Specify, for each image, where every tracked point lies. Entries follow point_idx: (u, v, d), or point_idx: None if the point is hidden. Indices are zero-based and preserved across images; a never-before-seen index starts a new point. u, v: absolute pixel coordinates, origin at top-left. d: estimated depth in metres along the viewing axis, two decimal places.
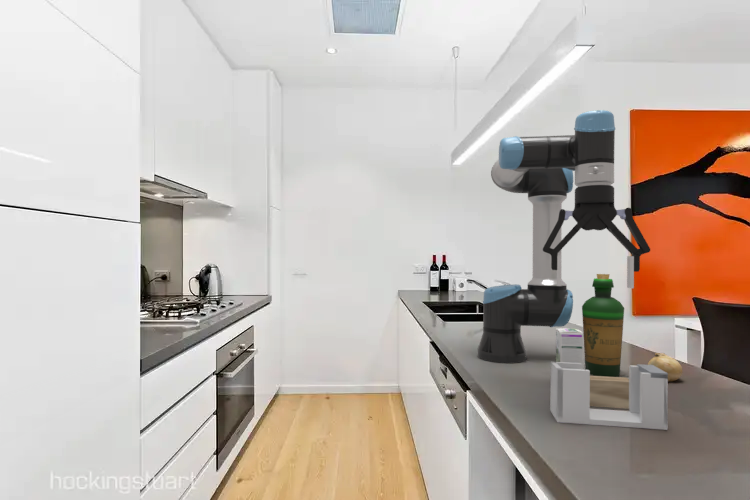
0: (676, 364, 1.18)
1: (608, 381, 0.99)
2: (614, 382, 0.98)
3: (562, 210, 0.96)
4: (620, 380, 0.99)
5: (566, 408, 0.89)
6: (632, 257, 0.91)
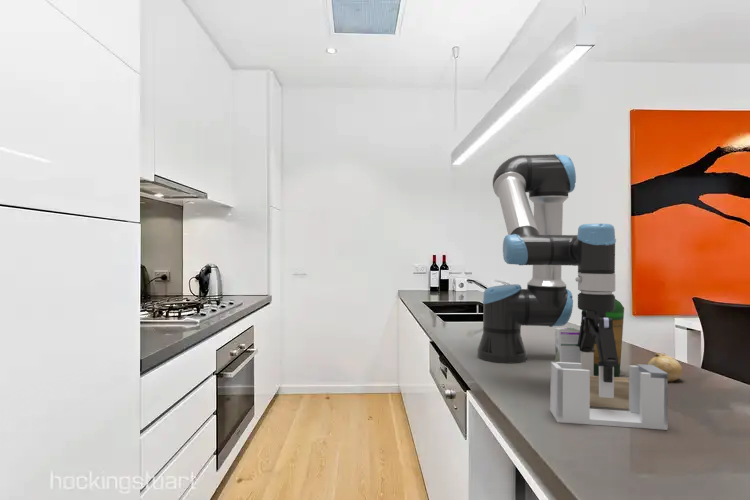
0: (676, 364, 1.18)
1: None
2: (614, 382, 0.98)
3: (582, 312, 1.07)
4: (620, 380, 0.99)
5: (566, 408, 0.89)
6: (599, 366, 0.94)
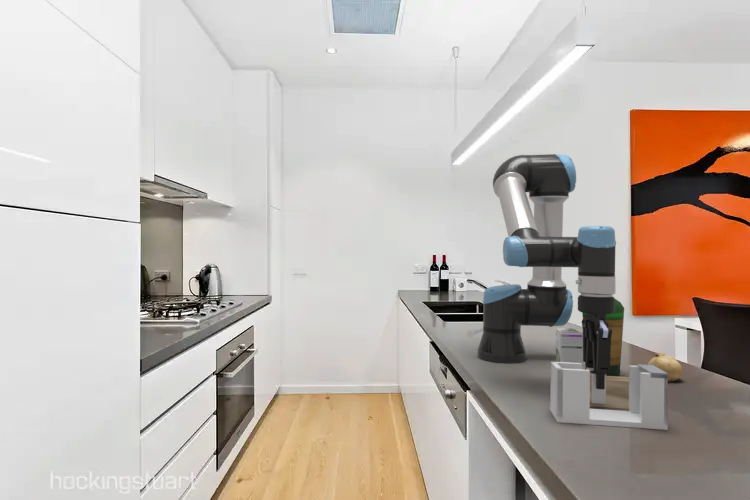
0: (676, 364, 1.18)
1: (608, 380, 0.98)
2: (614, 381, 0.98)
3: (582, 321, 1.07)
4: (620, 379, 0.99)
5: (566, 408, 0.89)
6: (592, 374, 0.99)
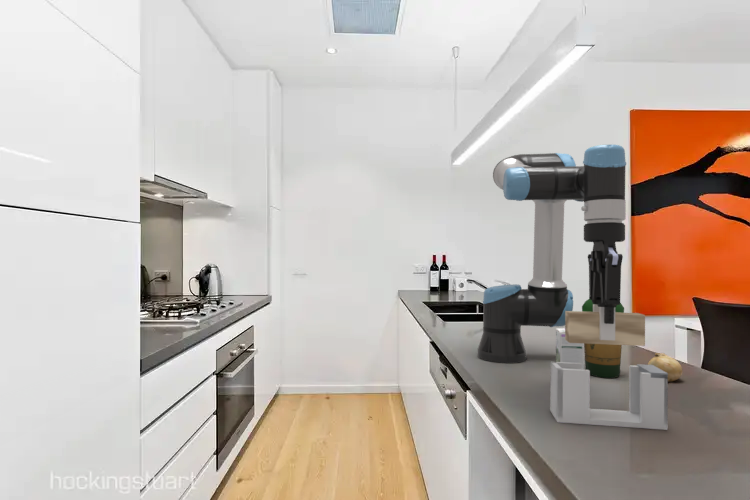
0: (676, 364, 1.18)
1: (618, 315, 0.89)
2: (625, 316, 0.89)
3: (588, 255, 0.97)
4: (631, 314, 0.89)
5: (566, 408, 0.89)
6: (600, 308, 0.89)
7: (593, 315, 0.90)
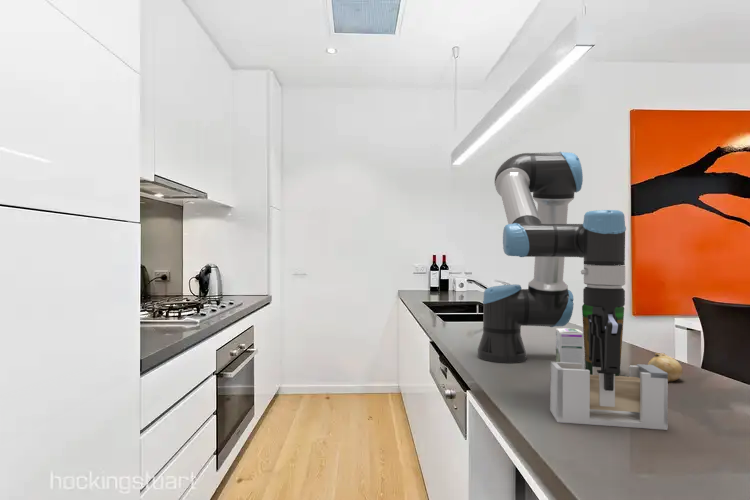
0: (676, 364, 1.18)
1: (618, 381, 0.89)
2: (624, 382, 0.89)
3: None
4: (631, 380, 0.89)
5: (566, 408, 0.89)
6: (599, 373, 0.89)
7: (593, 380, 0.90)
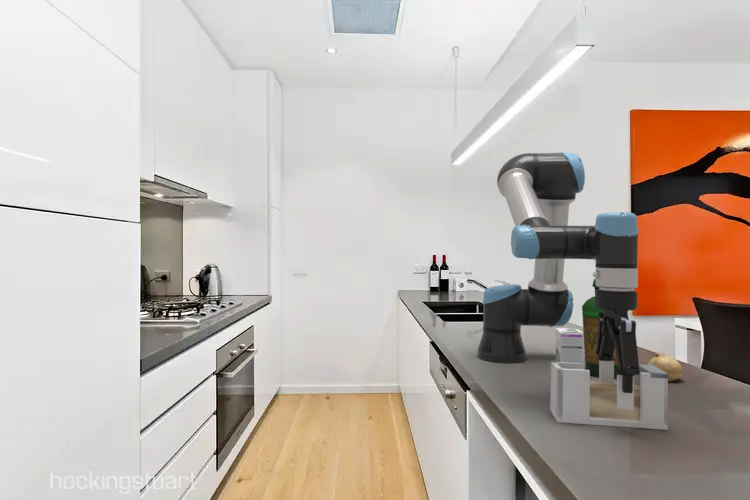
0: (676, 364, 1.18)
1: None
2: (636, 390, 0.88)
3: (599, 313, 0.97)
4: None
5: (566, 408, 0.89)
6: (617, 375, 0.85)
7: (605, 389, 0.89)
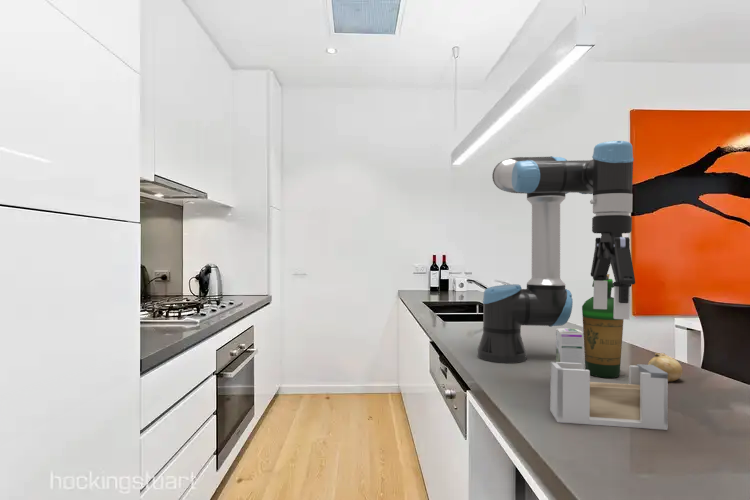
0: (676, 364, 1.18)
1: (630, 389, 0.89)
2: (636, 390, 0.88)
3: (596, 238, 1.03)
4: None
5: (566, 408, 0.89)
6: (614, 287, 0.90)
7: (605, 389, 0.89)
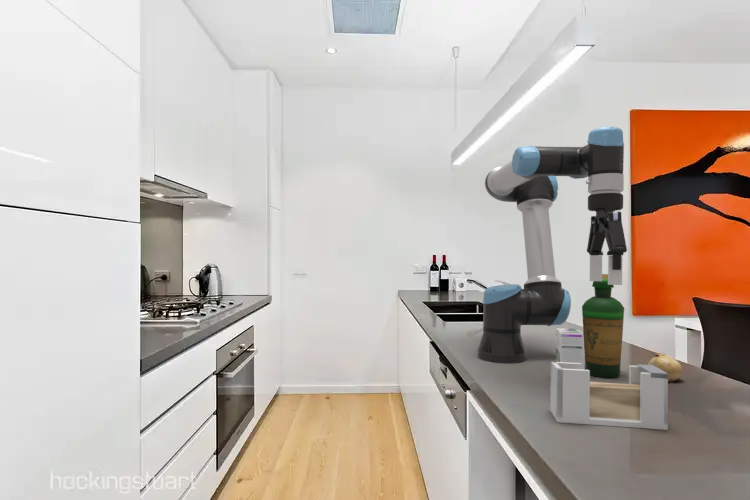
0: (676, 364, 1.18)
1: (630, 389, 0.89)
2: (636, 390, 0.88)
3: (591, 217, 1.13)
4: None
5: (566, 408, 0.89)
6: (608, 256, 1.00)
7: (605, 389, 0.89)
